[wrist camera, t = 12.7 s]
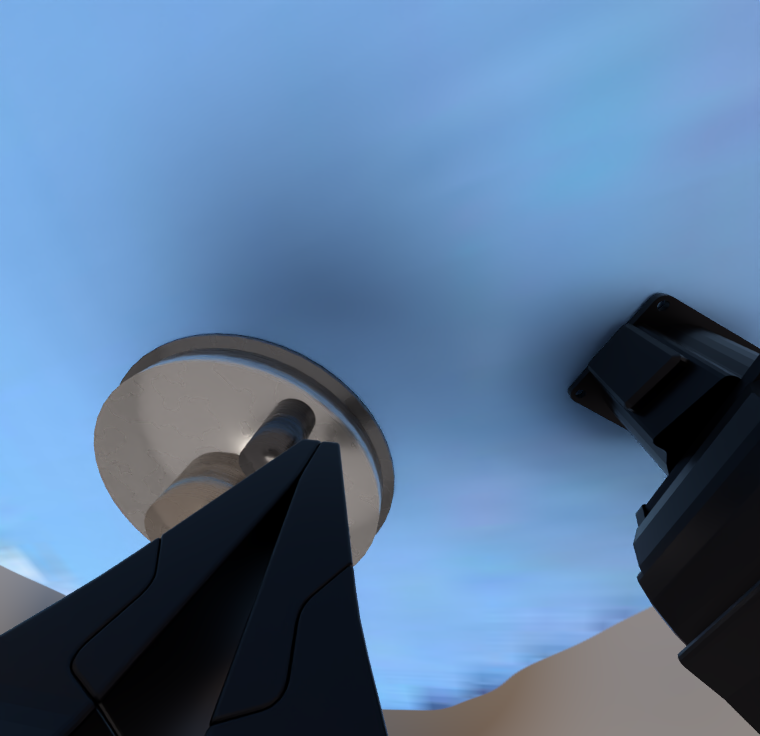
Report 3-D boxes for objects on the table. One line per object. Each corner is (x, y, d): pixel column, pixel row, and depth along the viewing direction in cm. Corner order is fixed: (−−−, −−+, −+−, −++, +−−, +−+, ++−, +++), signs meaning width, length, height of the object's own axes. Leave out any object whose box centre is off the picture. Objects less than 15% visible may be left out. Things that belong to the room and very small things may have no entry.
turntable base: (452, 432, 22) (453, 435, 21) (325, 597, 30) (324, 600, 30) (138, 270, 20) (134, 271, 19) (100, 496, 29) (97, 499, 28)
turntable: (389, 574, 27) (379, 666, 22) (168, 555, 30) (111, 632, 25) (373, 346, 19) (351, 403, 14) (73, 348, 22) (-43, 396, 17)
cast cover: (291, 532, 24) (267, 586, 20) (201, 525, 25) (164, 577, 21) (271, 453, 21) (241, 501, 17) (171, 450, 22) (124, 495, 18)
